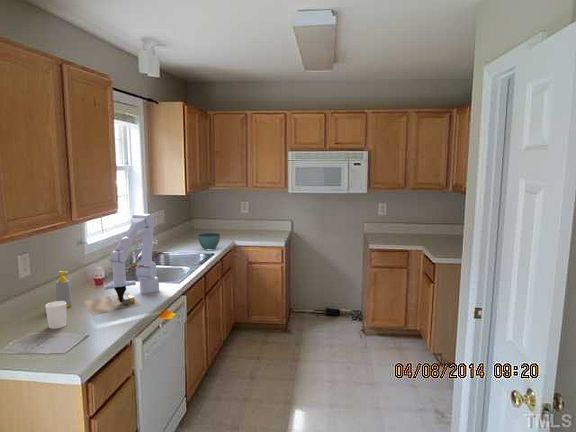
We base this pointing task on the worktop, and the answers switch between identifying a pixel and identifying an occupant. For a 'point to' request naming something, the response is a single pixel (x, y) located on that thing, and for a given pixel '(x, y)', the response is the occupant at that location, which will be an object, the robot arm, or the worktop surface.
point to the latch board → (107, 304)
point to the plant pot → (209, 240)
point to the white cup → (56, 314)
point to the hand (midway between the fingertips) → (120, 301)
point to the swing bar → (125, 299)
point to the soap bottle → (63, 290)
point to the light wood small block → (131, 299)
